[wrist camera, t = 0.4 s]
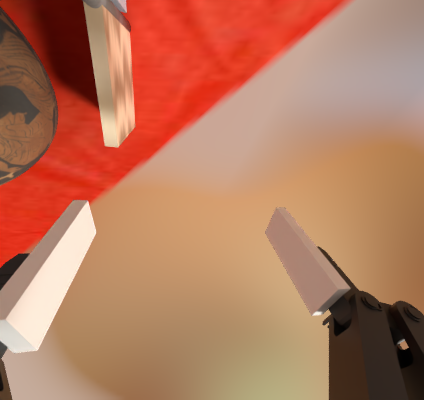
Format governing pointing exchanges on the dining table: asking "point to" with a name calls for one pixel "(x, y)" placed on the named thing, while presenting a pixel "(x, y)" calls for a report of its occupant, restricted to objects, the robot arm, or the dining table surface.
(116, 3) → the door
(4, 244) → the dining table surface
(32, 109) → the vase
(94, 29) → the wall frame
